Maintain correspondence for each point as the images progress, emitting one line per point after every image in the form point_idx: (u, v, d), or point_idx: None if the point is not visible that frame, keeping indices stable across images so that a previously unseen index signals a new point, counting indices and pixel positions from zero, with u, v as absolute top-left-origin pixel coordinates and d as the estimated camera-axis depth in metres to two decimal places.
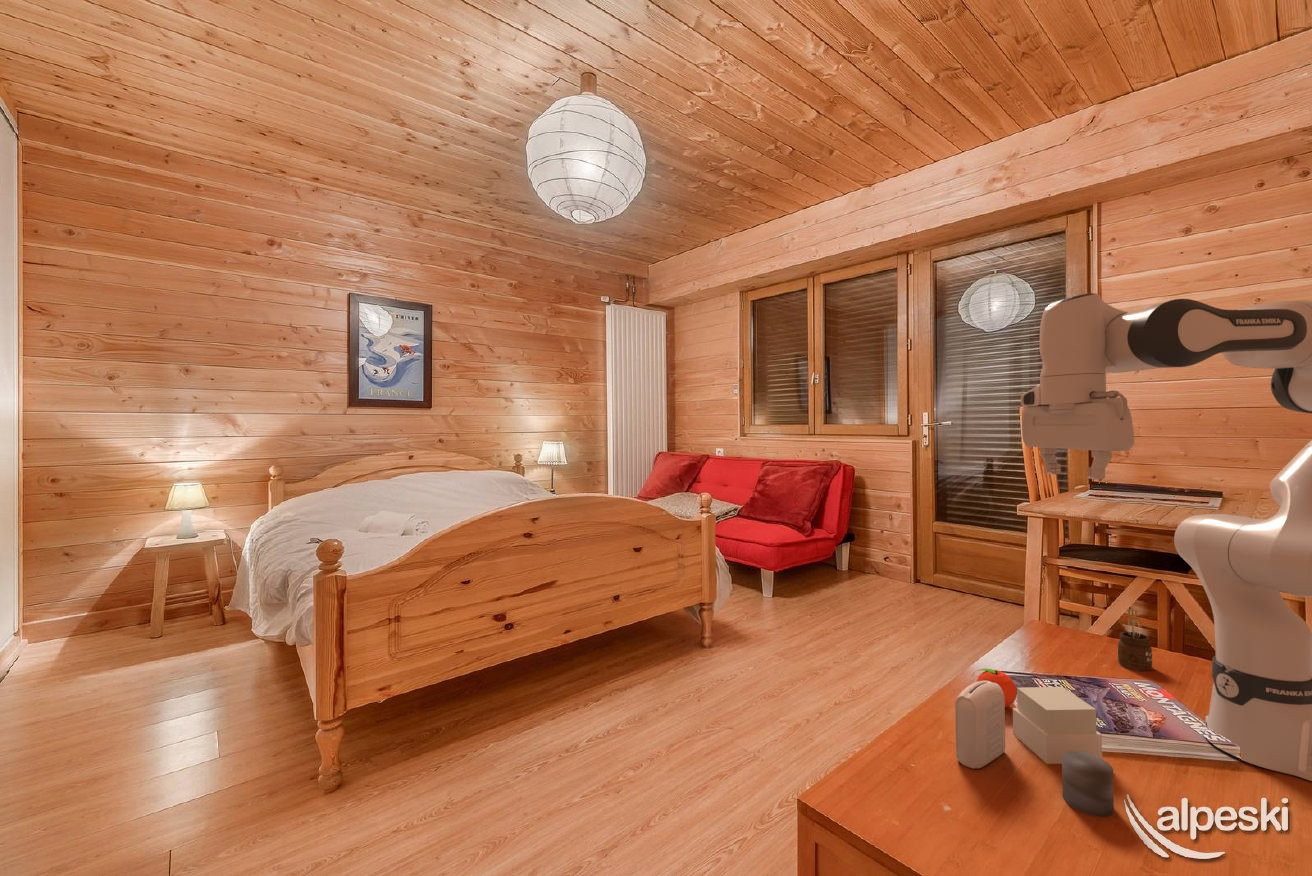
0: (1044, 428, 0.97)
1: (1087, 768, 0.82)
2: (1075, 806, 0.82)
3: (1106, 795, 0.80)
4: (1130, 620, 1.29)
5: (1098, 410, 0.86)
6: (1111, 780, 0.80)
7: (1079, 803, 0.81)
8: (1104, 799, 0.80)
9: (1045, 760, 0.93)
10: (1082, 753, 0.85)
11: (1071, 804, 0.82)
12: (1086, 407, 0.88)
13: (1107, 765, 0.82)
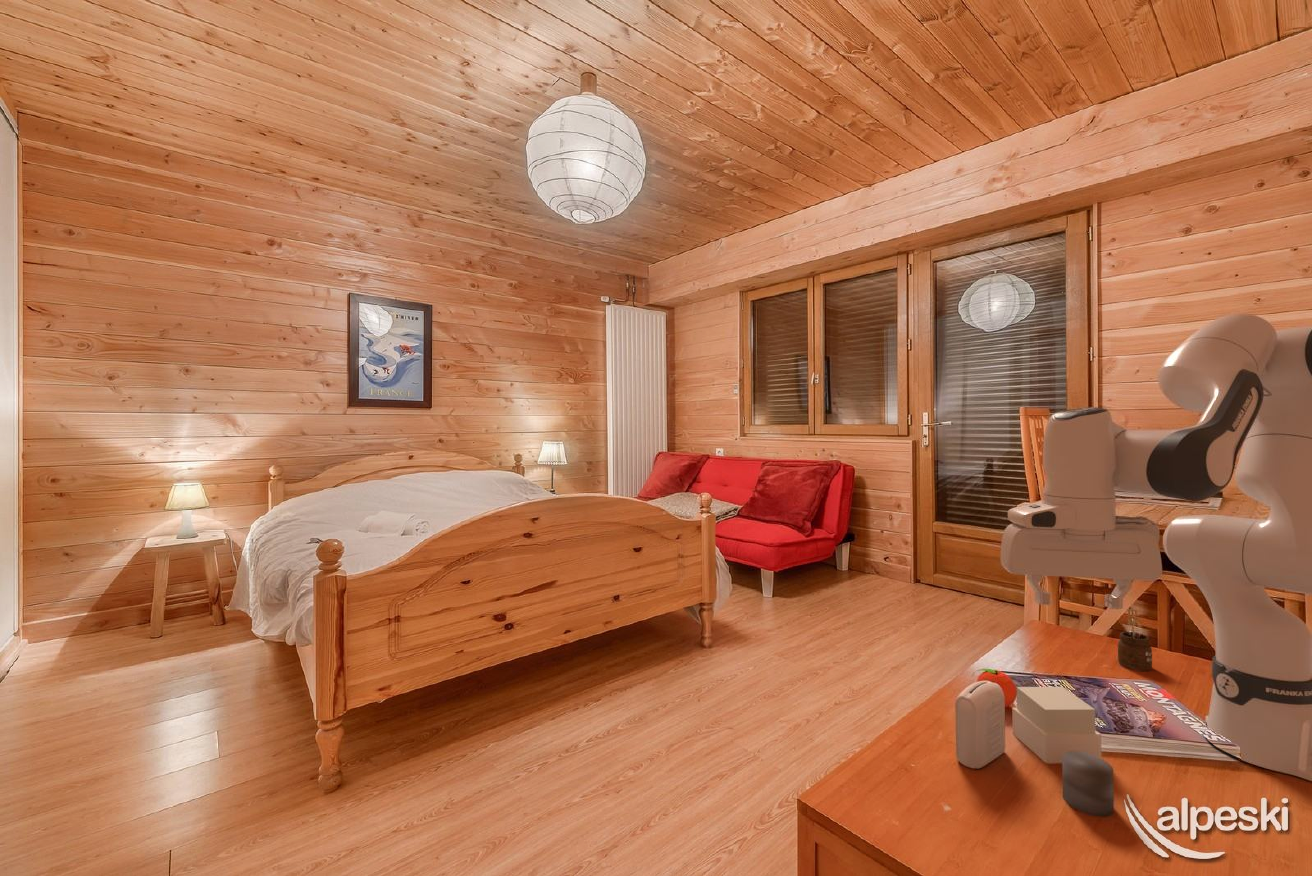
0: (1051, 554, 0.84)
1: (1087, 768, 0.82)
2: (1075, 806, 0.82)
3: (1106, 795, 0.80)
4: (1130, 620, 1.29)
5: (1144, 539, 0.81)
6: (1111, 780, 0.80)
7: (1079, 803, 0.81)
8: (1104, 799, 0.80)
9: (1044, 760, 0.93)
10: (1082, 753, 0.85)
11: (1071, 804, 0.82)
12: (1125, 534, 0.82)
13: (1107, 765, 0.82)
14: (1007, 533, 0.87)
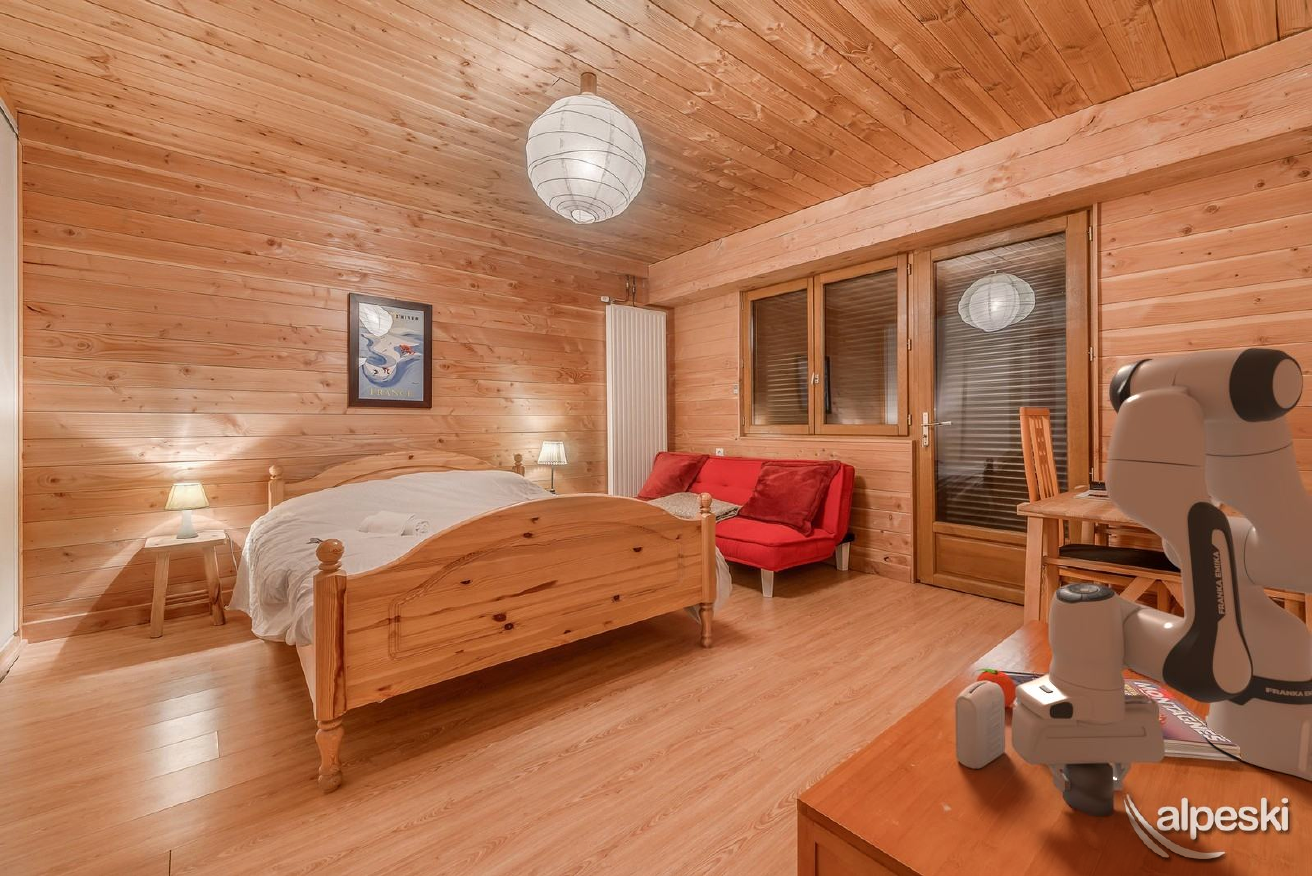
0: (1066, 742, 0.81)
1: (1087, 767, 0.82)
2: (1075, 806, 0.82)
3: (1106, 795, 0.80)
4: None
5: (1149, 721, 0.81)
6: (1111, 780, 0.80)
7: (1079, 803, 0.81)
8: (1104, 799, 0.80)
9: None
10: None
11: (1071, 804, 0.82)
12: (1132, 718, 0.81)
13: (1106, 764, 0.82)
14: (1020, 717, 0.83)
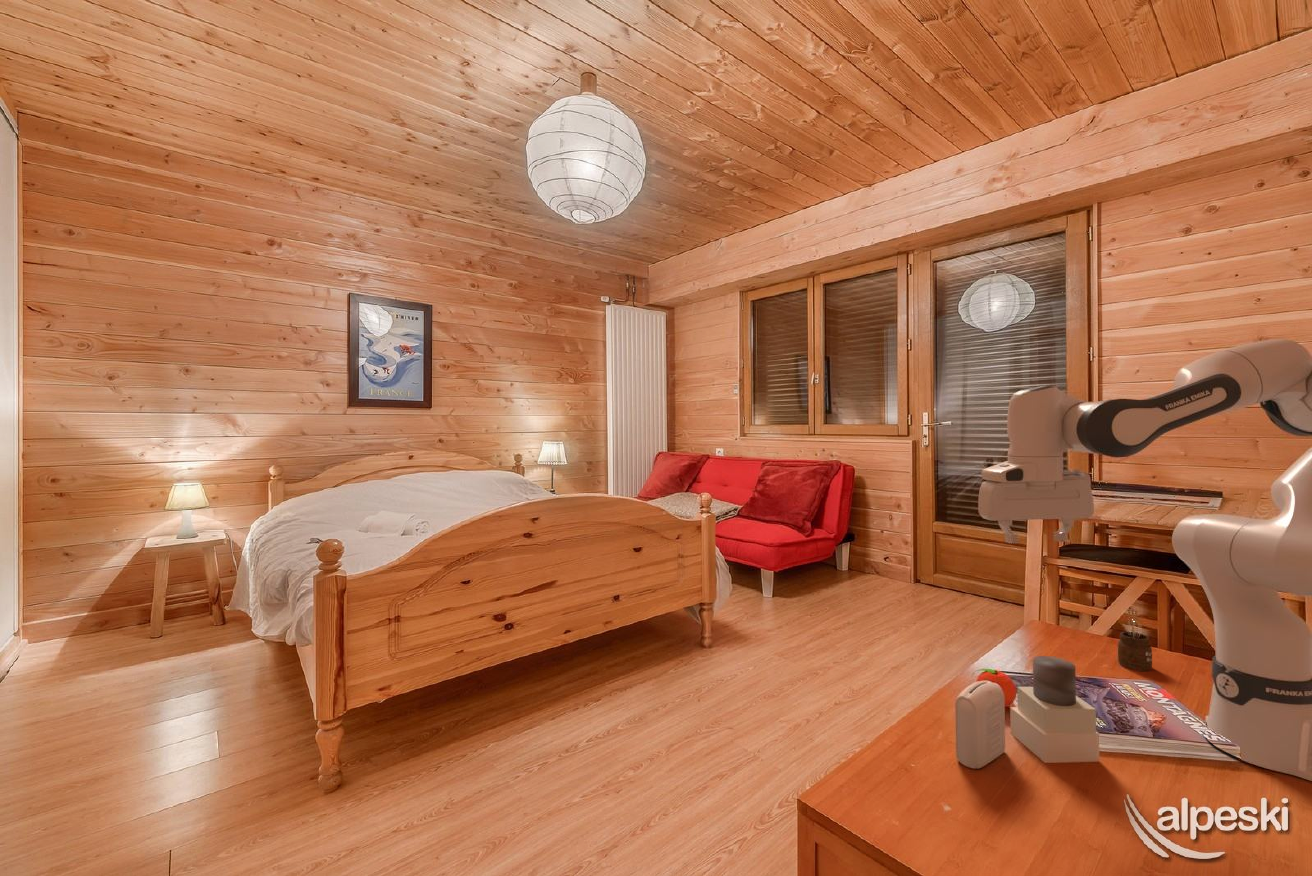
0: (1019, 502, 1.06)
1: (1053, 666, 0.95)
2: (1043, 699, 0.95)
3: (1069, 687, 0.94)
4: (1130, 620, 1.29)
5: (1082, 486, 1.06)
6: (1073, 675, 0.94)
7: (1047, 696, 0.95)
8: (1067, 691, 0.94)
9: (1043, 759, 0.93)
10: (1050, 657, 0.99)
11: (1040, 698, 0.96)
12: (1069, 483, 1.06)
13: (1070, 664, 0.96)
14: (984, 488, 1.08)
